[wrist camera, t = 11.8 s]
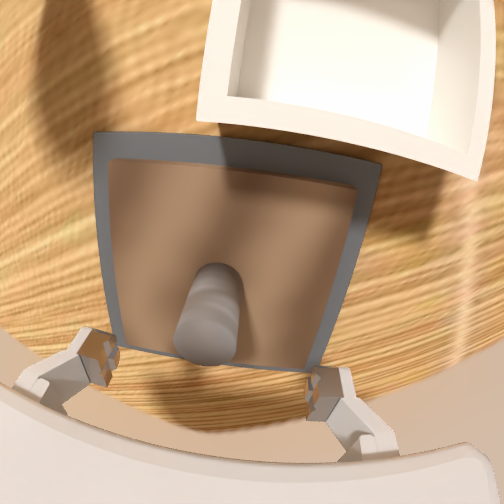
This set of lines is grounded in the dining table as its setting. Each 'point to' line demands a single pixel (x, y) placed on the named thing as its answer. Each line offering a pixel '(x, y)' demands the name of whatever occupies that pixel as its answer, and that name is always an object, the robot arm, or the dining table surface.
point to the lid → (224, 259)
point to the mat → (241, 156)
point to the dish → (357, 73)
